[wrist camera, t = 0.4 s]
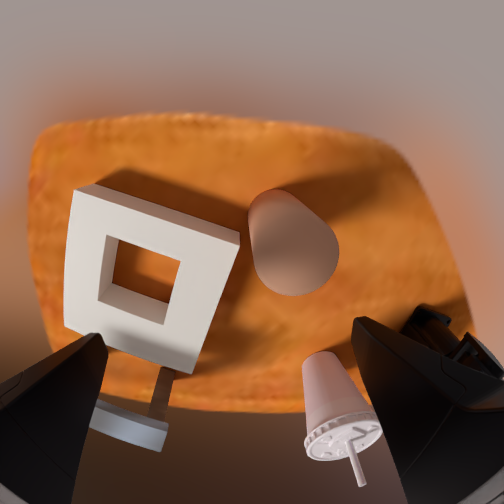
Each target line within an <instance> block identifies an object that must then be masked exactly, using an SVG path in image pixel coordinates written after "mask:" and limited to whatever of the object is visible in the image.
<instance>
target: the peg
mask: <svg viewBox="0 0 504 504" xmlns="http://www.w3.org/2000/svg"><path fill="white" fill-rule="evenodd" d="M248 225H249V232H250V239H251V245H252V252H253V259H254V266H255V270H256V272H257V275H258V276H259V278H260V280H261V281H262V282H263V283H264V284H265V285H266V286H267V287H268V288H269V289H271V290H273V291H274V292H277V293H279V294H283V295H288V296H298V295H304V294H307V293H310V292H313V291H315V290H316V289H318V288H320V287H321V286H322V285H323V284H325V283H326V282H327V281H328V280H329V278H330V277H331V276H332V274H333V272H334V271H335V268H336V266H337V263H338V258H339V245H338V241H337V238H336V236H335V234H334V232H333V230H332V229H331V228H330V227H329V226H328V225H327V224H326V223H325V222H324V221H323V220H322V219H320V218H319V217H318V216H317V215H316V214H315V213H313V212H312V211H311V210H310V209H309V208H308V207H306V206H305V205H304V204H303V203H302V202H300V201H299V200H298V199H297V198H296V197H294V196H293V195H292V194H290V193H289V192H287V191H284V190H280V189H271V190H267V191H264V192H262V193H261V194H259V195H258V196H257V197H256V198H255V199H254V200H253V201H252V203H251V205H250V207H249V210H248Z"/></svg>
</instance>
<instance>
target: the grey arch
mask: <svg viewBox="0 0 504 504" xmlns="http://www.w3.org/2000/svg"><path fill="white" fill-rule="evenodd" d="M174 375H175V372H174V371H171V370H168V369H164V368H160V372H159V375H158V379H157V382H156V386H155V389H154V393H153V396H152V400H151V404H150V407H149V411H148V415H147V417H145V416H142V415H139V414H136V413H133V412H130V411H128V410H125V409H122V408H119V407H116V406H114V405H112V404H109V403H107V402H104V401H102V400H99V399H97V402H96V405H95V408H94V411H93V415H92V418H91V421H90V425H89V427H91V428H93V429H95V430H98V431H100V432H102V433H105V434H108V435H110V436H113V437H115V438H118V439H121V440H124V441H126V442H129V443H132V444H135V445H139V446H142V447H145V448H148V449H151V450H155V451H158V452H161V449H162V446H163V443H164V440H165V437H166V434H167V430H168V425H169V424H168V423H165V422H164V420H165V415H166V411H167V406H168V402H169V397H170V393H171V388H172V384H173V379H174Z"/></svg>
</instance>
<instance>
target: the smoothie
mask: <svg viewBox="0 0 504 504" xmlns="http://www.w3.org/2000/svg"><path fill="white" fill-rule="evenodd" d="M302 374H303V385H304V396H305V409H306V421H307V435H308V436H307V437H306V439H305V441H304V444H305V448H306V451H307V455H308V456H309V457H311V458H312V459H315V460H320V461H329V460H337V459H341V458H345V457H348V456H349V457H350V460H351V463H352V466H353V469H354V473H355V476H356V479H357V482H358V486H359V487H361V486H364V485H366V481H365V478H364V475H363V471H362V469H361V465H360V462H359V459H358V457H357V453H358V452H360V451H362V450H364V449H366V448H367V447H369V446H370V445H372V444H373V443H374V442H375V441H376V440H377V439H378V438H379V437H380V436H381V434H382V433H383V430H382V428H381V425H380V423H379V420H378V417H377V415H376V412H373V411H372V410H371V408H370V406H369V405H368V403H367V402H366V400H365V399H364V397H363V396H362V394H361V393H360V391H359V390H358V388H357V387H356V385H355V384H354V382H353V381H352V379H351V377H350V376H349V374H348V373H347V371H346V370H345V368H344V367H343V365H342V364H341V362H340V361H339V359H338V358H337V356H336V355H335V354H334V353H332V352H329V351H321V352H317V353H314V354H312V355H311V356H309V357H308V358H307V359H306V360H305V361H304V363H303V365H302Z"/></svg>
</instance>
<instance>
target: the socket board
mask: <svg viewBox="0 0 504 504" xmlns="http://www.w3.org/2000/svg"><path fill="white" fill-rule="evenodd" d="M119 239H120V240H123V241H126V242H128V243H131V244H134V245H137V246H140V247H142V248H145V249H148V250H151V251H154V252H157V253H160V254H162V255H165V256H168V257H171V258H174V259H177V260H180V261H181V263H180V266H179V270H178V273H177V277H176V280H175V284H174V287H173V291H172V294H171V298H170V302H169V304H168V303H165V302H162V301H159V300H156V299H153V298H150V297H148V296H145V295H142V294H139V293H137V292H134V291H131V290H129V289H126V288H123V287H121V286H118V285H116V284H113V283H112V279H113V272H114V266H115V260H116V254H117V248H118V243H119ZM239 247H240V232H237V231H234V230H231V229H228V228H226V227H223V226H220V225H217V224H214V223H211V222H208V221H205V220H202V219H199V218H196V217H193V216H191V215H188V214H185V213H182V212H179V211H176V210H173V209H170V208H167V207H164V206H161V205H158V204H155V203H152V202H149V201H146V200H143V199H140V198H137V197H134V196H131V195H128V194H125V193H122V192H118V191H115V190H112V189H109V188H106V187H103V186H100V185H97V184H91V185H88V186H84V187H81V188H78V189H75V190H74V194H73V199H72V205H71V212H70V219H69V226H68V235H67V244H66V256H65V271H64V326H65V327H67V328H70V329H72V330H74V331H76V332H78V333H80V334H82V335H87V334H88V333H91V332H93V333H100V334H101V335H102V337H103V340H104V342H105V345H108V346H110V347H113V348H115V349H118V350H120V351H123V352H126V353H128V354H131V355H134V356H136V357H139V358H142V359H145V360H148V361H151V362H154V363H157V364H160V365H163V366H166V367H169V368H172V369H175V370H179V371H182V372H185V373H189V374H192V372H193V370H194V367H195V364H196V361H197V359H198V356H199V353H200V351H201V348H202V345H203V342H204V340H205V337H206V334H207V332H208V329H209V326H210V324H211V321H212V318H213V316H214V313H215V310H216V308H217V305H218V302H219V300H220V297H221V294H222V292H223V289H224V286H225V284H226V281H227V279H228V276H229V273H230V271H231V268H232V266H233V263H234V260H235V258H236V255H237V252H238V250H239Z"/></svg>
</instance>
